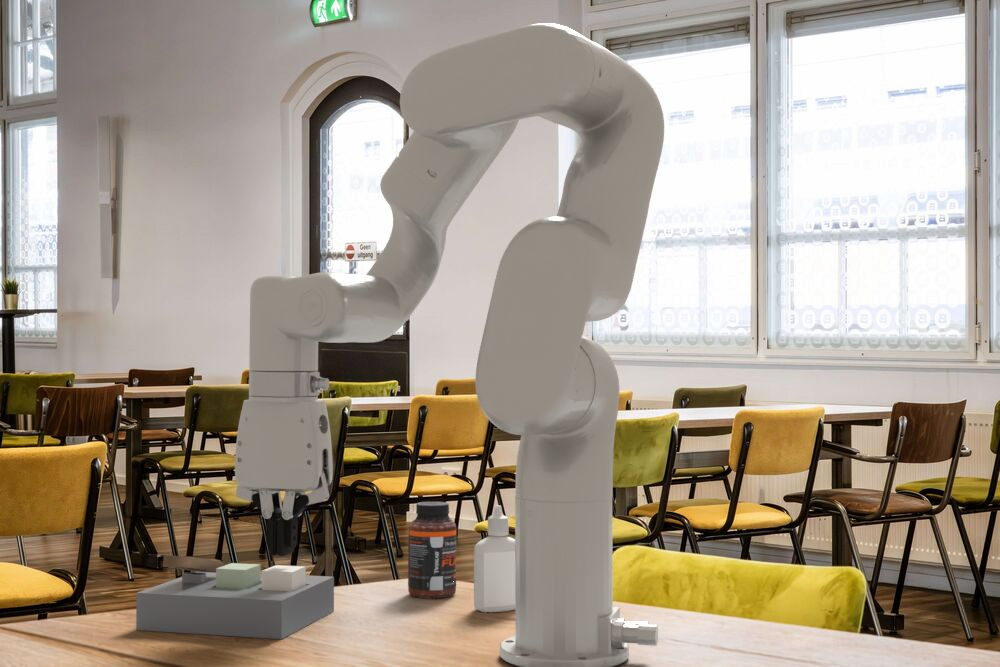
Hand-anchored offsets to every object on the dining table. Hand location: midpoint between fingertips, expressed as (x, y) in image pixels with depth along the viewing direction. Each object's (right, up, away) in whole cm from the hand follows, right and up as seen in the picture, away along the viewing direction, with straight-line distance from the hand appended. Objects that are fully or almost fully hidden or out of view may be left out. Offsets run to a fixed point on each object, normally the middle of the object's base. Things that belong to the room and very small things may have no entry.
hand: (281, 553), depth 134 cm
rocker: (-10, -2, +3) cm, 11 cm away
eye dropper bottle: (+24, -8, +7) cm, 26 cm away
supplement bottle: (+16, -8, +15) cm, 23 cm away
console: (-5, -8, +1) cm, 9 cm away
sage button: (-5, -5, +1) cm, 7 cm away
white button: (0, -5, 0) cm, 5 cm away
